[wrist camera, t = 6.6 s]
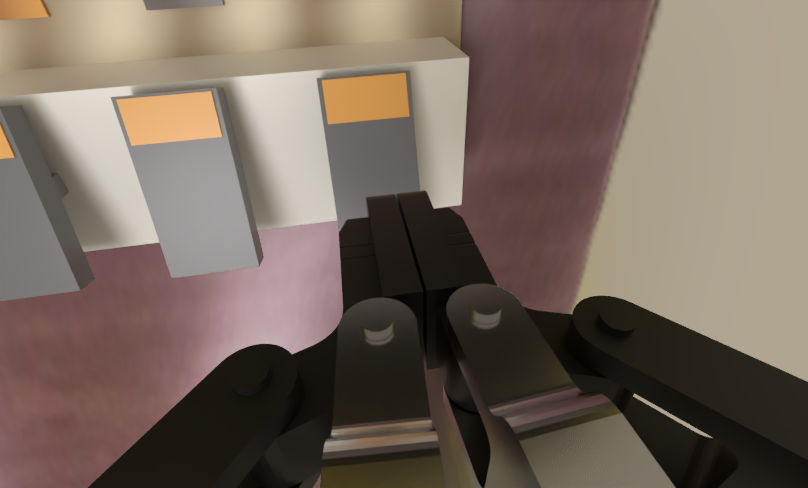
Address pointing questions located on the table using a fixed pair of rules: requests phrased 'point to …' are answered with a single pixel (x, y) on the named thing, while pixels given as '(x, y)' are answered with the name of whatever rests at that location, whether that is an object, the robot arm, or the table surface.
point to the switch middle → (191, 179)
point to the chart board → (205, 27)
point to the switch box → (236, 128)
